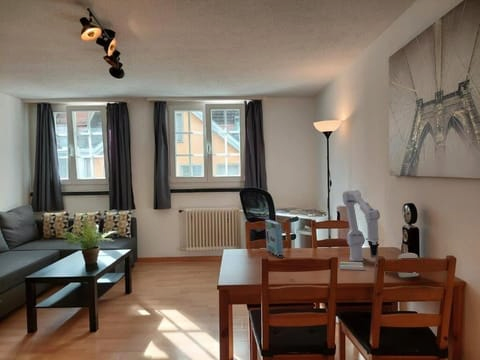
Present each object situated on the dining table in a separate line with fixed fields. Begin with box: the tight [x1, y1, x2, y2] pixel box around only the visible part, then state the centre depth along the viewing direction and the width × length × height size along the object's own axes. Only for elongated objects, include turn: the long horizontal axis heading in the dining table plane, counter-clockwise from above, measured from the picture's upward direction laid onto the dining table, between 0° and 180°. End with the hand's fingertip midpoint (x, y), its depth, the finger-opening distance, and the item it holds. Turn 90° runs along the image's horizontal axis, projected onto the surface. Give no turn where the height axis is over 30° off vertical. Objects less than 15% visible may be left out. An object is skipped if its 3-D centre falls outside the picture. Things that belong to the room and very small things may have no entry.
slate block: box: [369, 248, 379, 259], centre depth 194 cm, size 4×4×4 cm
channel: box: [339, 261, 365, 271], centre depth 198 cm, size 8×13×2 cm, turn 73°
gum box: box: [264, 219, 284, 256], centre depth 239 cm, size 20×5×23 cm, turn 17°
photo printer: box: [397, 252, 420, 278], centre depth 178 cm, size 10×4×12 cm, turn 96°
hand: (373, 254), depth 194 cm, fingers closed on slate block, 4 cm apart
